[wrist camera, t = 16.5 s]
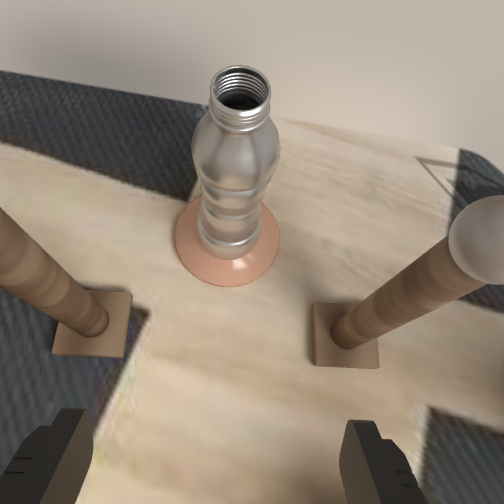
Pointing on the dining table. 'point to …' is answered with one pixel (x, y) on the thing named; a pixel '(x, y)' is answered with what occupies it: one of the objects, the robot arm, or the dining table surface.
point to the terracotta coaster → (218, 269)
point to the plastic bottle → (234, 161)
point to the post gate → (324, 314)
